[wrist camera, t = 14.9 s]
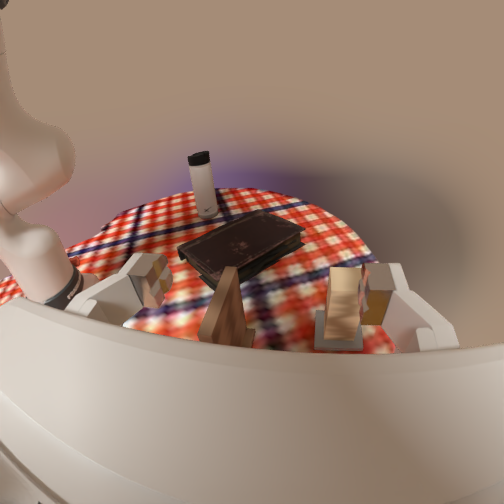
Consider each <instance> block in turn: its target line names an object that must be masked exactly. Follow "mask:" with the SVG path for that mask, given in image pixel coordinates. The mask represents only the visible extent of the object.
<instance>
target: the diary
mask: <svg viewBox="0 0 504 504" xmlns="http://www.w3.org/2000/svg"><path fill="white" fill-rule="evenodd" d="M304 230H305V228H303V227H301V226H299V225H297V224H294V223H292V222H290V221H288V220H285V219H283V218H281V217H278V216H275V215H272V214H270V213H267V212H264V211H261V210H259V209H257V210H255V211H253V212H251V213H249V214H247V215H245V216H243V217H241V218H239V219H237V220H234V221H232V222H229V223H227V224H225V225H222V226H220V227H218V228H216V229H214V230H212V231H210V232H208V233H206V234H204V235H202V236H200V237H198V238H196V239H194V240H191V241H189V242H187V243H184V244H182V245H180V246H178V247H177V250H178V254H179V257H180V260H181V261H182V260H184V259H186V260H187V262H189V263H190V264H191V265H192V266H193V267H194V268H195V269H196V270H197V271H198V272H200V273H201V274H202V275H201V276H199V277H200V278H201V279H202V280H203V281H204V282H205V283H206V284H207V285H208V286H209V287H210V288H211V289H213V290H214V291H215V290H216V288H217V285H218V283H219V281H220V278H221V276H222V274H223V271H224V269H225V267H226V266H229V267H237V271H238V278H239V284H242V283H244V282H245V281H247V280H249V279H250V278H252V277H253V276H255V275H256V274H258V273H260V272H261V271H263V270H264V269H266V268H268V267H270V266H271V265H273V264H275V263H276V262H278V261H279V260H278V259H280V258H282V257H283V256H285V255H287V254H289V253H292V252H294V251H296V250H297V249H299V248H301V247H302V246H304V245H306V244H304V243H302V242H300V232H302V231H304ZM277 260H278V261H277Z"/></svg>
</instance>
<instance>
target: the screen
mask: <svg viewBox="0 0 504 504" xmlns="http://www.w3.org/2000/svg"><path fill="white" fill-rule="evenodd" d="M197 335H198V338H199V340H200V342H206V343H213V344H220V345H228V346H236V347H245V348H252V344H253V339H254V335H255V329H248V328H247V327H246V321H245V315H244V309H243V303H242V296H241V290H240V284H239V278H238V271H237V267H229V266H226V267H225V269H224V271H223V274H222V276H221V278H220V281H219V283H218V285H217V288H216V290H215V293H214V295H213V297H212V300H211V302H210V304H209V307H208V309H207V312H206V314H205V316H204V319H203V321H202V324H201V326H200V329H199V331H198V333H197Z"/></svg>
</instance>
